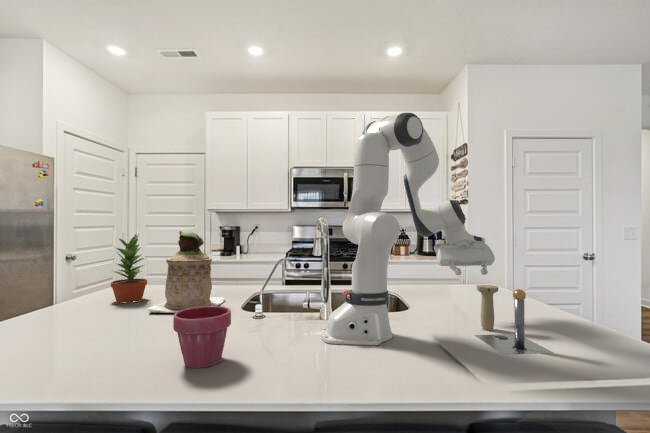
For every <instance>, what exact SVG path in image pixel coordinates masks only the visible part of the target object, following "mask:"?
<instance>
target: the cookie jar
mask: <svg viewBox="0 0 650 433" xmlns="http://www.w3.org/2000/svg"><path fill="white" fill-rule="evenodd" d="M178 233H179V237H178V238H179V240H178V241H177V244H178V246H179V250H178V251H177V252H176V253H175V254H173V256H171V257H167V258H166V263H167V265H168V266H167V275H166V279H165V288H164V289H165V290H164V297H165V301H164V302H161V303H157V304H155V305H152V306H150V307H147V308H146V309H147V311H148V313H151V312H152V313H163V314H166V313H167V314H168V313H169V314H175V313H177V312H179V311H181V310H185V309H189V308H195V307H205V306H220V305H221V304H223V303H224V302H225V300H226V298H225V297H222V296H217V297H216V296H214V297H213V296H211V294H212V289H213V284H212V277H211V271H212V267H211V263H212V261H213V258H212V257H210V256H209V255H208V254H206V253H203V252H202V251H201V248H200V247H201V246H203V245H204V244H205V242H204V239H203V238H202V237H200V236H199V234H198V233H195V232H183V231H182V230H179V231H178ZM152 313H151V314H152Z"/></svg>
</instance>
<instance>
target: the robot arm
mask: <svg viewBox="0 0 650 433" xmlns="http://www.w3.org/2000/svg"><path fill="white" fill-rule="evenodd" d="M397 150H400V151H401V154H402V157H403V159H404V162H405V165H406V173H405V174H404V176H403V183H404V188H405V194H406V196H407V201H408V205H409V209H410V212H411V217H412V226H413V228H414V231H415V232H416V234H417V235H419V236H421V237H424V238H428V237H430V236H432V235H435V234H436V233H439V232H441V233H442V235H443V236H444V241H445V243H436V244H435V245H434V246H433V250H434V252H435V253H436V260H437V263H438V265H439V266H441V267H449V269H451V270H452V271H453V272H454V273H455V275H456V276H461V274H462V270H461V268H459V267H464V266H465V267H469V266H470V267H472V266H474V267H476V266H477V267H478V266H480V267H481V269H480V273H481V275H484V276H485V275H486V276H487V275H488V272H489V271H488V268H487V267H488V266H492V265H493V264H494V262H495V260H496V257H495V254H494V252H493V250H492V248H491V247H490V246H489V244H487V243H486V239H485V238H484V237H483V236H477V235H475V234H470V233H469V232H468V231H467V230H466V226H465V223H466V220H467V219H466V215H465V213H464V212H463V210H462V207H461V205H460V203H459V202H458V201H455V200H453V199H448V200H445V201H443V202H442V201H441V203H437V204H435V205H433V206H430V207H428V208H426V209H422V206H421V202H420V199H419V190H420V188H421V187H422V186H423V185H424V184H425V183H426V182H427V181H428V180H429V179H431V178H432V177H433V175H434V174H435V173H436V172H437V170H438V168H439V164H440V159H439V154H438V152H437V149H436V147H435V145H434V142H433V140H432V138H431V137H430V135H429V133H428V132H427V131H426V128H425V127H424V125H423V122H422V121H421V119H420V117H419V116H418V115H417V114H415V113H414V112H401V113H399V114H394V115H391V116H390V115H388V116H384V117H381V118H380V119H377V120H373V121H371V122H370V123H368V124H367V125H366V126H365V127H364V129H363V130H362V134H361V135H360V136H359V138H358V139H357V142H356V146H355V153H354V157H353V158H354V160H353V176H352V178H353V180H352V193H351V198H350V203H349V206H348V211H347V216H346V217H345V219H344V221H343V223H342V232H343V235H344V237H345V238H346V239H347V240H348V241H350V242H351V243H353V244H355V245H358V247H357V252H356V255H355V259H354V261H353V262H352V264H351V289H349V290H348V289H344V290H342V295H343V296H344V299H345V302H344V303H342V304H341V305H340V306H338V307H337V308H336V309H335V310H333V311H332V312H331V313H330V314H329V317H328V319H327V320H328V321H327V326H325V327H323V328H322V329H321V330H320V338H321V340H322V341H324V342H325V343H327V344H334V345H335V344H338V345H361V346H363V345H365V346H378V345H381V344H382V343H383V342H386V341H389V340H391V339H392V338H393V333H392V328H391V325H390V324H391V323H390V318H389V316H390V315H389V308H390V307H389V305H390V294H389V290H388V265H389V261H390V260H389V259H390V255H391V252H392V248H393V247H394V244H395V243H396V242H397V240H399V236H400V235H401V225H400V223H399V220H398V219H397V218H396V217H395V216H394V215H393V214H390V213H388V212H385V211H381V209H382V205H383V202H384V200H385V198H386V197H387V195H388V193H389V192H388V191H389V171H390V157H389V154H390V151H397ZM458 266H459V267H458Z"/></svg>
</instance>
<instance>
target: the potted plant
mask: <svg viewBox="0 0 650 433" xmlns="http://www.w3.org/2000/svg"><path fill="white" fill-rule="evenodd" d="M139 235H140V234H139V233H138V234H137V235H135V236H134V235H133V237H132V238H131V239H130V241H129V242H128V243H127V242H126V241H125V240H124V239H122V238H119V237H117V238H118V240H119V241H120V242H121V243H122V244H123V246H124V247H125V249H124V248H119V247H115V249H116V250H117V251H119V252H120V253H119V252H117V254H118V256H119V257H120V260H119V261H120V262H121V263H116V262H115V265H116V266H119V267H121V268H122V269H118V270H110V271H111V272H113V273H115V274H118V275H120V276H123V277H124V278H123V279H118V280H116V279H115V280H112V281H111V282H110V288H111V289H112V291H113V292H112V293H113V295H114V299H115V302H116V301H117V302H133V301H138V302H140V301H139V300H141V299H142V300H143V296H144V293H145V290H146V286H147V285H148V279H147V278H136V276H137V275H138V274H140V273H141V272H143V270H140V268H142V267H144V266H145V265H146V264H142V265H139V266H135V264H137V263H139V262H140V261H142V260H144V259H145V257H142V258H139V257H141V256H142V255H143V254H142V253H140V254H139V255H138V254H137V253H138V251H140V250H141V248H142V247H139V246H140V243H138V241H139V239H138V238H139ZM137 243H138V244H137ZM121 254H122V255H121ZM123 256H124V257H123ZM138 258H139V259H138ZM142 300H141V301H142ZM117 302H116V303H117Z"/></svg>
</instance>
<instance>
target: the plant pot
mask: <svg viewBox="0 0 650 433" xmlns="http://www.w3.org/2000/svg"><path fill="white" fill-rule="evenodd" d="M172 323H173V330H174V331H175V332H176V333H177V337H178V342H179V346H180V351H181V355H182V358H183V359H182V360H183V363H184V365H185V366H186V367H188V368H194V369H201V368H207V367H212V366H215V365H217V364H219V363H220V362H221V361H222V358H223V352H224V348H225V342H226V338H227V332H228V328H229V327H230V326H231V324H232V311H231V308H229V307H226V306H220V305H218V306H205V307H195V308H189V309H185V310H181V311H179V312H177V313H173V322H172Z"/></svg>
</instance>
